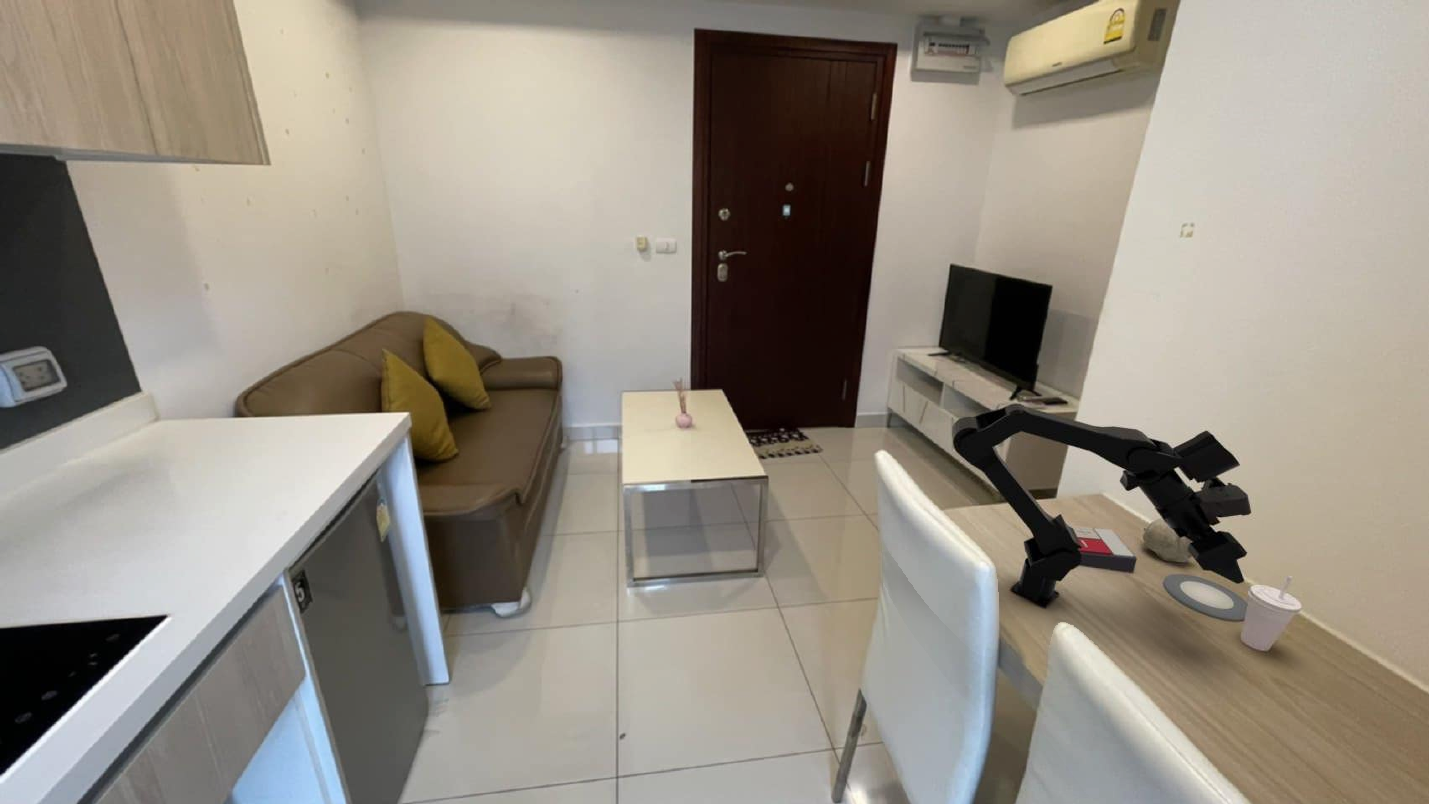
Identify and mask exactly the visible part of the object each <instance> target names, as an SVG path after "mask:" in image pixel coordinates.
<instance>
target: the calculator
mask: <svg viewBox="0 0 1429 804" xmlns="http://www.w3.org/2000/svg"><path fill="white" fill-rule="evenodd" d="M1069 526H1070V527H1071V528H1073V529H1074V531H1075V533H1076V535H1077V538H1078V540H1079V542H1080V544H1081V546H1082V548H1081V549H1079V550H1080V552H1081V554H1082V560H1081V563H1080V564H1079V566H1081V567H1082V566H1083V567H1089V568H1100V569H1109V570H1111V571H1114V572H1115V571H1117V572H1124V573H1132V574H1133V573H1134V571H1135V567H1136V564H1137V560H1138V558H1137V557H1136V555H1135V554H1133V552H1132V551H1131V550H1130V549H1129V547H1128V546H1127V545H1126V544H1125V543H1124V542H1123V540H1122V539H1121V538H1120V537H1119V536H1118V535H1117V534H1116V532H1115V531H1114V530H1112V529H1106V528H1105V529H1104V528H1093V527H1091V526H1089V527H1088V526H1079V525H1069Z"/></svg>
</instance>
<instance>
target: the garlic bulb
mask: <svg viewBox="0 0 1429 804" xmlns="http://www.w3.org/2000/svg"><path fill="white" fill-rule="evenodd" d="M1143 531H1144V533H1143V535H1142V541H1143V542H1144V546H1145V547H1146V549H1148V550H1150V551H1152V552H1154V553H1155V554H1156V556H1157V557H1158V558H1159V559H1162V560H1163V561H1165V560H1166V561H1165V562H1178V563H1185V562H1188V559H1190V558H1193V557H1192V555H1191V554H1190V553H1189V551H1188V547H1189V544H1190V543H1192V541H1191V540H1189V539H1188V538H1186V537H1185V536H1184V537H1181V538H1180V537H1179V536H1178V535H1177V534H1176V533H1175V531H1174V530H1173V529H1172V528H1171V527H1170V526H1169V525H1168V524H1167V523H1166V522H1165V521H1164V519H1163V518H1162V517H1160V518H1157V519H1155V520H1154V521H1151V522H1150V523H1149V524H1148V526H1144V527H1143Z"/></svg>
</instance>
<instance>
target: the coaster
mask: <svg viewBox="0 0 1429 804" xmlns="http://www.w3.org/2000/svg"><path fill="white" fill-rule="evenodd" d="M1162 584H1163V588H1164V589H1165V591H1166V592H1167V593H1168V595H1170V596H1171V597H1172V598H1173V599H1175V600H1176V601H1177V602H1179V603H1181V604H1182V605H1184V606H1185V607H1188V608H1190V609H1191V610H1193V611H1195V612H1197V613H1200V614H1202V615H1206V616H1208V617H1211V618H1214V619H1218V620H1222V621H1227V622H1242V621H1243V622H1244V620H1245V616H1246V611H1247V607H1248V602H1247V601H1246V600H1245V599H1244V598H1243V597H1242V596H1241V595H1238V593H1236V592H1235V591H1232V590H1231V589H1229V588H1227V587H1225V586H1223V585H1221V584H1219V583H1217V582H1216V581H1215V582H1214V581H1212V580H1210V579H1206V578H1203V577H1199V576H1196V575H1191V574H1186V573H1185V574H1183V573H1172V574H1169V575H1167V576H1166V577H1165V578H1164V580H1163V583H1162Z"/></svg>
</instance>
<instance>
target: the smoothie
mask: <svg viewBox="0 0 1429 804" xmlns="http://www.w3.org/2000/svg"><path fill="white" fill-rule="evenodd" d="M1292 579H1293V576H1291V575H1287V576H1286V579H1285V581H1284V583H1283V586H1282V588H1281V589H1278V588H1275V587H1272V586H1269V585H1262V584H1255V585H1252V586H1250V588H1249V590H1248V591H1247V593H1248V595H1249V598H1248V602H1247V603H1248V607H1247V611H1246V616H1245V620H1243V625H1242V630H1241V634H1240V640H1241V641H1242V643H1243V644H1244V645H1247V646H1248V647H1249V648H1251V649H1254V650H1256V651H1260V652H1261V651H1262V652H1268V651H1270V649H1271V648H1272V646H1273V644H1275V642H1276V641H1277V639H1278V638H1279V637H1280V635H1281V634H1282V633H1283V632H1284V631H1285V629H1286V627H1287V626H1288V625H1289V623H1290V622H1291V621H1292V619H1293V618H1294V616H1295V615H1298V614H1299V613H1300V612H1301V609H1302V603H1301V602H1300V601H1299V600H1298V599H1297V598H1295V597H1294V596H1292V595H1290V594H1289V593H1286V592H1287V590H1288V588H1289V586H1290V584H1291V581H1292Z"/></svg>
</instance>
